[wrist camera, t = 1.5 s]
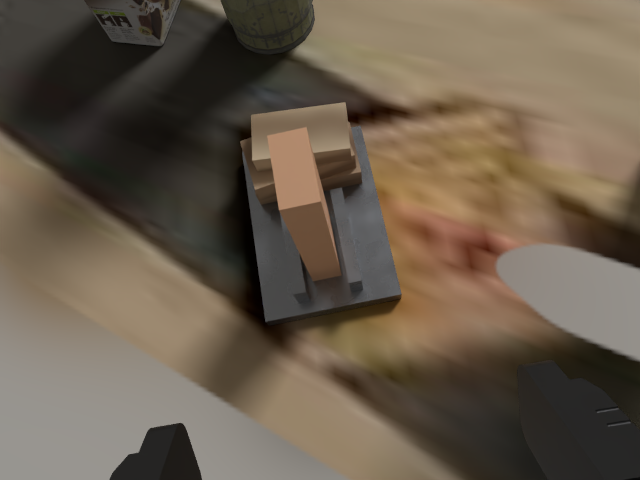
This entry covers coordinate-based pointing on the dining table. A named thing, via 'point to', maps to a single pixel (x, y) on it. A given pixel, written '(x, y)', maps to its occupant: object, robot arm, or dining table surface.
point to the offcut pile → (326, 140)
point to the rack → (352, 247)
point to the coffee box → (135, 19)
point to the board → (303, 202)
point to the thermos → (270, 23)
